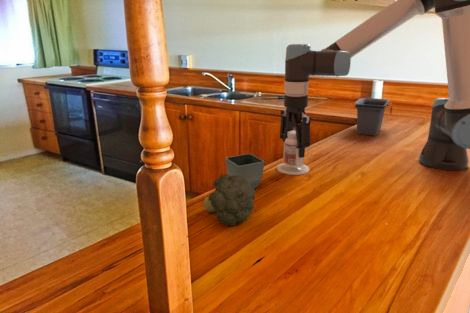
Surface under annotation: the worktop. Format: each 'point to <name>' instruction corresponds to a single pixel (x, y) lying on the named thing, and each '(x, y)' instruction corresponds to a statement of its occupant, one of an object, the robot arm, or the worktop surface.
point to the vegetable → (231, 199)
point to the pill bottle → (290, 148)
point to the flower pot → (246, 168)
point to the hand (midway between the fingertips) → (293, 162)
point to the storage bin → (370, 115)
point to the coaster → (292, 169)
